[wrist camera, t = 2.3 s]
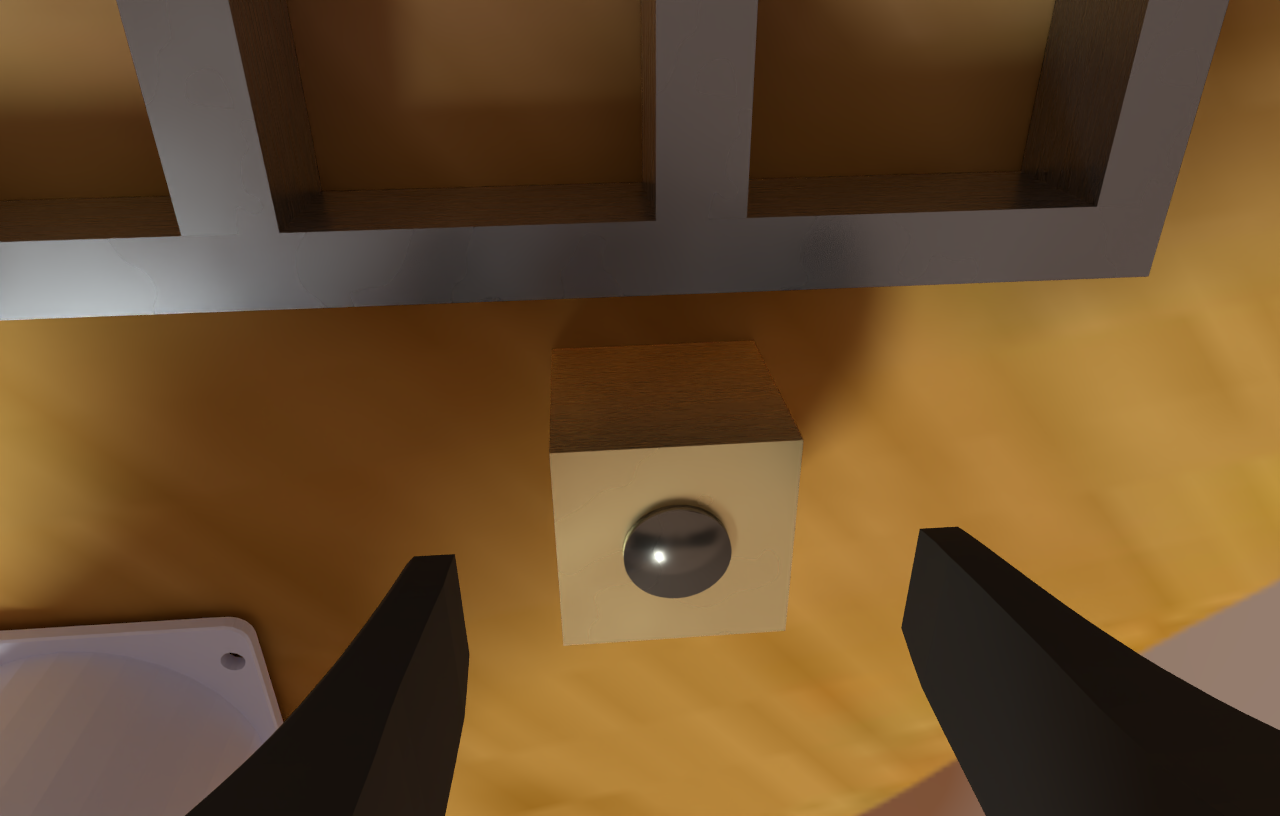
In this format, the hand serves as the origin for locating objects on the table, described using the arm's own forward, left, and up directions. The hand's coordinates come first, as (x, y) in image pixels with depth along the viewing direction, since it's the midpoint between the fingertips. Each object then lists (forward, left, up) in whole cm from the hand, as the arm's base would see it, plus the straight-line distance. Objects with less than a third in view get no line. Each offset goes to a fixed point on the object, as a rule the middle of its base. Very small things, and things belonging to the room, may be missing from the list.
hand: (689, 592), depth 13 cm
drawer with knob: (0, 0, -5) cm, 5 cm away
